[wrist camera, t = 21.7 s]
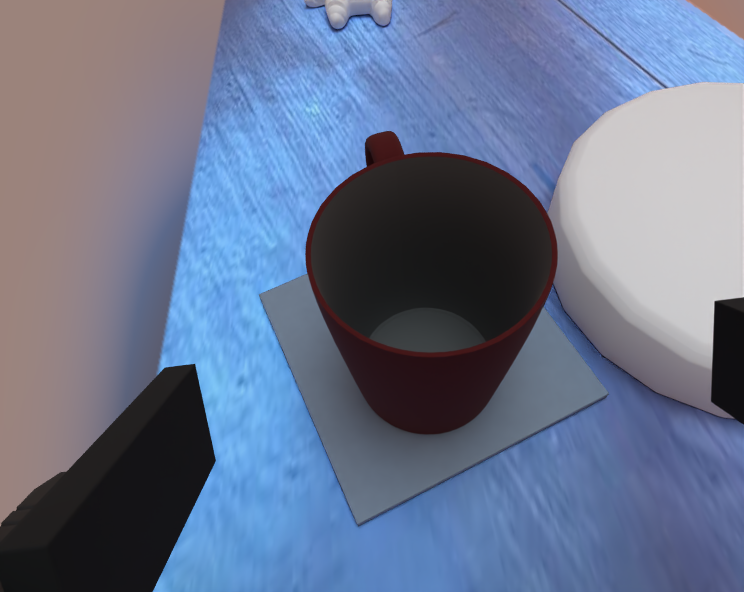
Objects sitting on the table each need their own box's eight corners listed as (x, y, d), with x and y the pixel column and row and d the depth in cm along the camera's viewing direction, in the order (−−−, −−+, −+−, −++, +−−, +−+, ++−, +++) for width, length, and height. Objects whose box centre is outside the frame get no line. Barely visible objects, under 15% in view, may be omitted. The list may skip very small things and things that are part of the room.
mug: (315, 273, 32) (272, 130, 23) (457, 235, 33) (473, 81, 23) (366, 472, 26) (335, 390, 17) (539, 421, 27) (605, 314, 17)
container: (879, 511, 24) (971, 490, 20) (481, 300, 31) (490, 253, 27) (955, 211, 32) (1033, 152, 28) (622, 95, 39) (645, 35, 35)
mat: (358, 526, 25) (357, 525, 25) (260, 298, 32) (258, 294, 32) (606, 396, 28) (609, 393, 27) (466, 209, 34) (466, 204, 34)
